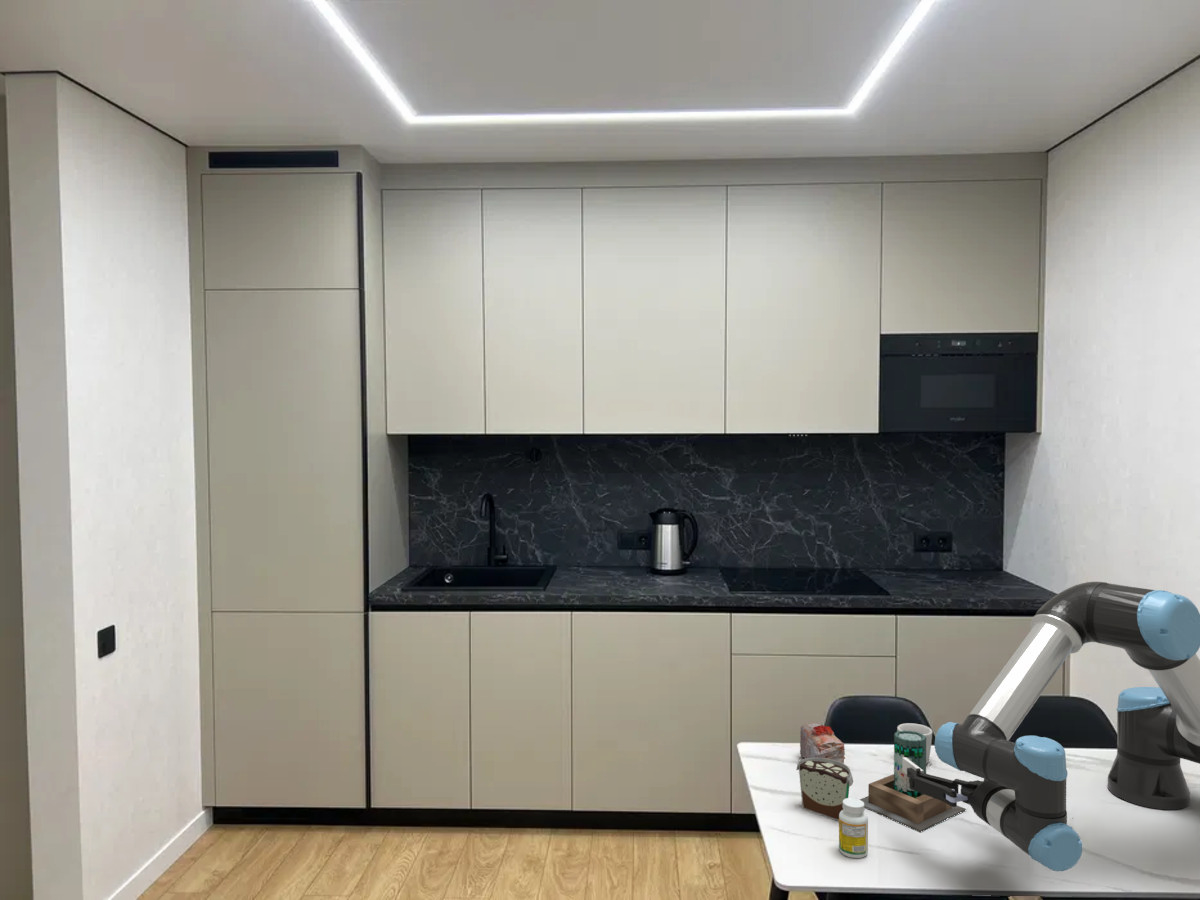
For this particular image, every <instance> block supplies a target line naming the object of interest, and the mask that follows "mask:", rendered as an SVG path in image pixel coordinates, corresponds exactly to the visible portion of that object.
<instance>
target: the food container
mask: <svg viewBox="0 0 1200 900" xmlns="http://www.w3.org/2000/svg"><path fill="white" fill-rule="evenodd" d="M796 771H798V773H799V784H800V794H801V806H802V810H805V811H808V812H812V813H814V814H817V815H820V816H822V817H826V818H829V819H831V820H834V821H837V822H839V814H840V812H841V811H842V810H843V807H842V806H843V800H844V799H846V798H849V792H850V787H851V786H852V785H853V784H854V777H853V774H852V771H851V769H850V767H849V766H848V765H846V764H845V763H844V764H843V763H841V762H838V761H835V760H831V759H825V758H807V759H805V758H804V759H803V758H802V759H801V760H798V763H797V765H796Z"/></svg>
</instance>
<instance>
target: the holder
mask: <svg viewBox="0 0 1200 900" xmlns="http://www.w3.org/2000/svg"><path fill="white" fill-rule="evenodd" d="M867 787H868V795H867V796H865V797H863V798H860V799H859V800H861V801H863V802H864V808H865V809H866V810H869V811H872V812H873V813H875V814H878V815H880V816H882V815H883V817H885V818H887V817H888V818H887V819H889V818H890V819H889V820H891V819H893V820H892V821H894V820H895V821H894V822H896V821H897V822H896V823H898V822H899V823H898V824H900V823H902V824H901V825H903V824H904V825H903V826H905V825H906V826H905V827H907V826H908V827H907V828H909V827H911V828H910V829H911V830H914V829H915V831H916V830H917V831H916V832H918V831H919V832H918V833H922V832H924V831H927V830H928V828H929V829H930V827H931V828H933V827H934V825H935V824H937V823H939V822H941V823H943V822H945V821H947V820H946V819H947V818H950V817H952V816H954V815H956V814H958V813H960V812H962V813H964V812H966V811H967V809H966V808H965V807H963V806H960V805H957V806H956V807H952V806H950V805H948V804H947V803H945V802H943V801H940V800H938V799H935V798H933V797H930V796H927V795H925V794H924V795H922V796H919V797H917V798H913V797H911V796H908V795H906V794H903V793H901V792H898V791H896V790H894V773H892V774H891V775H888V776H885V777H883V778H880V779H877V780H876V781H872V782H871V783H868V786H867ZM965 810H966V811H965ZM963 811H964V812H963ZM960 814H961V813H960ZM958 815H959V814H958ZM956 816H957V815H956ZM954 817H955V816H954ZM952 818H953V817H952ZM950 819H951V818H950ZM944 820H945V821H944ZM942 821H943V822H942ZM939 824H940V823H939ZM937 825H938V824H937ZM932 826H933V827H932ZM935 826H936V825H935ZM926 829H927V830H926ZM923 830H924V831H923ZM921 831H922V832H921Z"/></svg>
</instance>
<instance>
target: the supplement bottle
mask: <svg viewBox="0 0 1200 900" xmlns="http://www.w3.org/2000/svg"><path fill="white" fill-rule="evenodd" d="M842 807H843V810H842V811H841V812H840V814H839V821H838V849H839V852H840V853H841V854H842V855H843V856H846V857H847V858H851V859H852V858H853V859H862V858H864V857H866V856H867V855H868V852H869V818H868V817H869V816H868V815H867V814H866V813H865V809H866V808H864V802H863V801H861V800H860V799H858V798H854V797H848V798H846V799H844V800H843V806H842Z"/></svg>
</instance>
